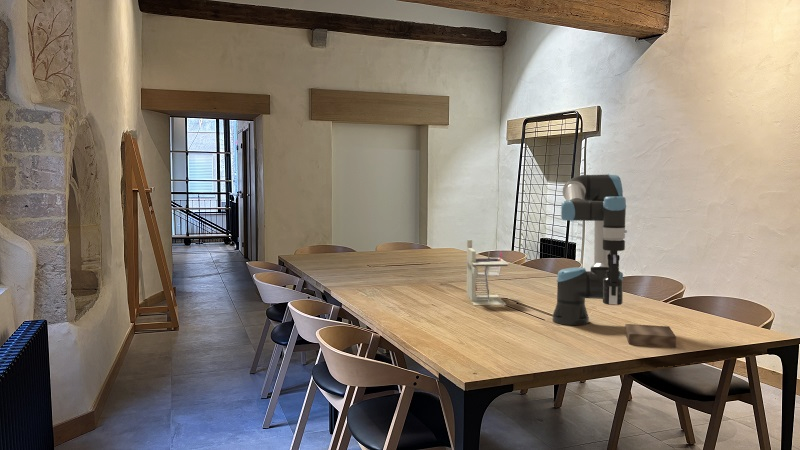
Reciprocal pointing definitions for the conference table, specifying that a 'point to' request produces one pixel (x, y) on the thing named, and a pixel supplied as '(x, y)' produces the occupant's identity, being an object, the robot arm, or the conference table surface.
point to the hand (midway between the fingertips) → (612, 302)
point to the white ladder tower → (473, 272)
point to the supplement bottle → (606, 289)
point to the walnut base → (650, 335)
